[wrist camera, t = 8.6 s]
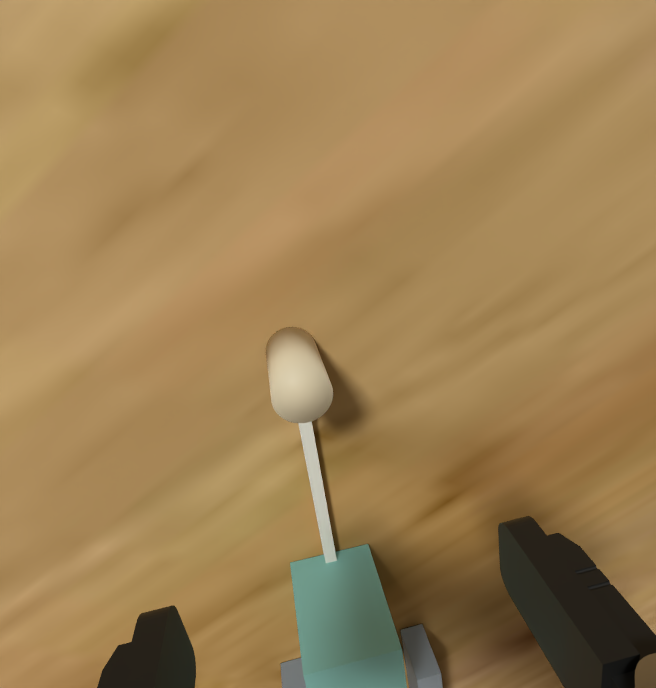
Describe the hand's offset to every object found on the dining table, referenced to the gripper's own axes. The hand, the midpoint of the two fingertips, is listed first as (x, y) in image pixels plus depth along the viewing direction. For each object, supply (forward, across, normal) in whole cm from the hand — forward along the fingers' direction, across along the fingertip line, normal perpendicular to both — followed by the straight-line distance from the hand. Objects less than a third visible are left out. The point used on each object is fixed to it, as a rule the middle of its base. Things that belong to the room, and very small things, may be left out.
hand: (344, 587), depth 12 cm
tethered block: (+14, 0, +8) cm, 17 cm away
